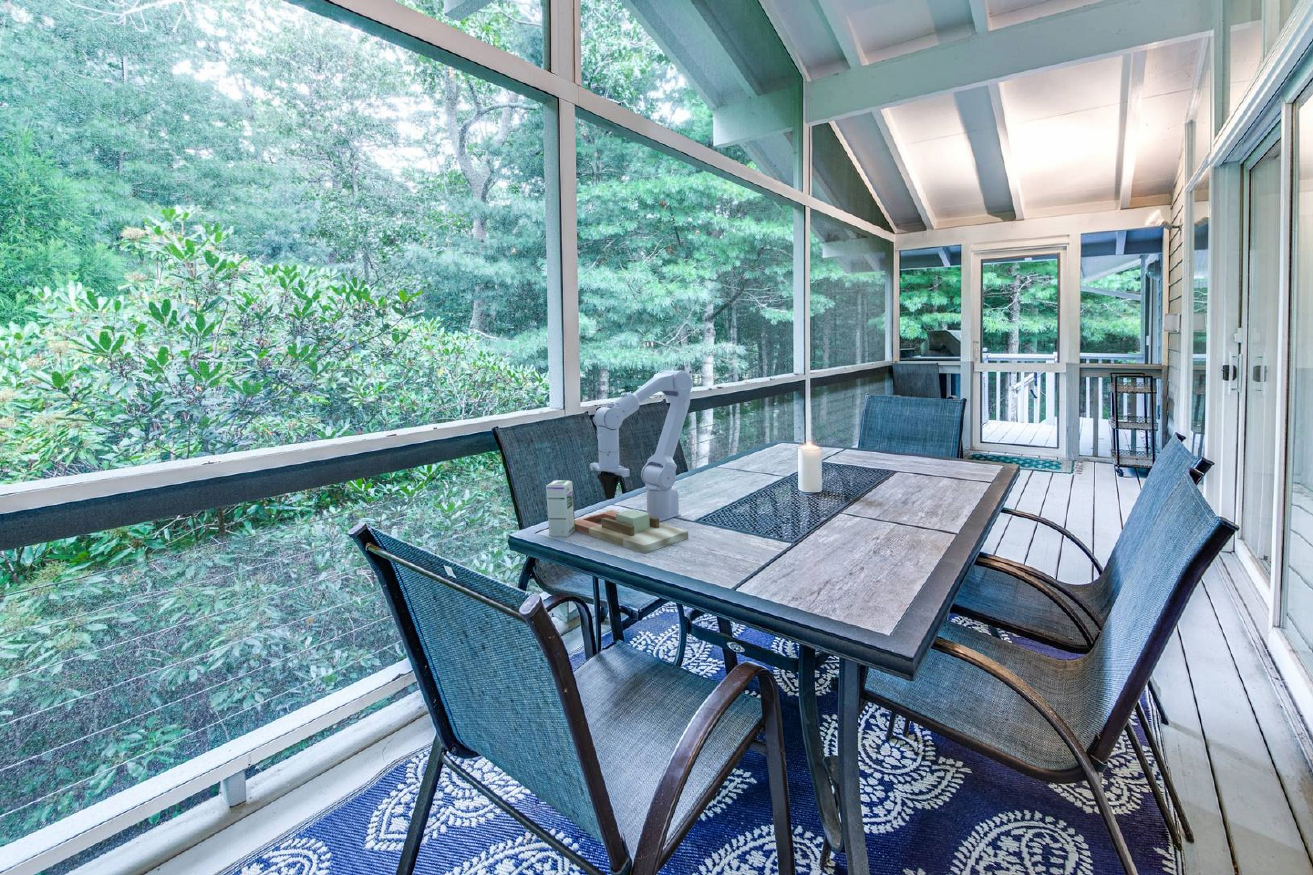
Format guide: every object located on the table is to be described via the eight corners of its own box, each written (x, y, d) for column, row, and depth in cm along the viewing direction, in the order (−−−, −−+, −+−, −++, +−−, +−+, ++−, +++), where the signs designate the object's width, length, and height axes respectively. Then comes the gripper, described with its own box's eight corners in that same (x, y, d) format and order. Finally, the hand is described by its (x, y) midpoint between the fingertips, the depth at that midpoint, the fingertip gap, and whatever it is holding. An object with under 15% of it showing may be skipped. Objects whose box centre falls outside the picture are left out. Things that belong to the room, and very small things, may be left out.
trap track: (612, 516, 188) (611, 501, 188) (688, 538, 166) (687, 521, 166) (569, 528, 177) (568, 513, 177) (644, 553, 155) (644, 536, 155)
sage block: (632, 523, 174) (631, 509, 174) (649, 528, 169) (649, 513, 169) (616, 527, 170) (615, 513, 170) (633, 533, 165) (633, 518, 165)
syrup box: (568, 537, 170) (566, 484, 167) (548, 536, 171) (545, 484, 169) (575, 530, 175) (573, 480, 173) (555, 529, 176) (553, 479, 174)
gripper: (581, 449, 175) (582, 496, 177) (615, 455, 165) (616, 505, 167) (600, 446, 180) (602, 492, 182) (634, 452, 170) (635, 500, 172)
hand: (610, 498), depth 175 cm, fingers closed
